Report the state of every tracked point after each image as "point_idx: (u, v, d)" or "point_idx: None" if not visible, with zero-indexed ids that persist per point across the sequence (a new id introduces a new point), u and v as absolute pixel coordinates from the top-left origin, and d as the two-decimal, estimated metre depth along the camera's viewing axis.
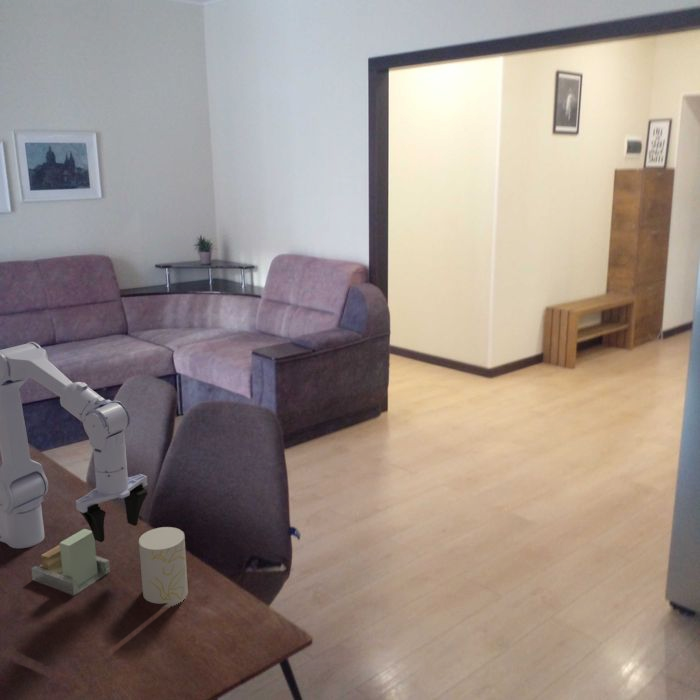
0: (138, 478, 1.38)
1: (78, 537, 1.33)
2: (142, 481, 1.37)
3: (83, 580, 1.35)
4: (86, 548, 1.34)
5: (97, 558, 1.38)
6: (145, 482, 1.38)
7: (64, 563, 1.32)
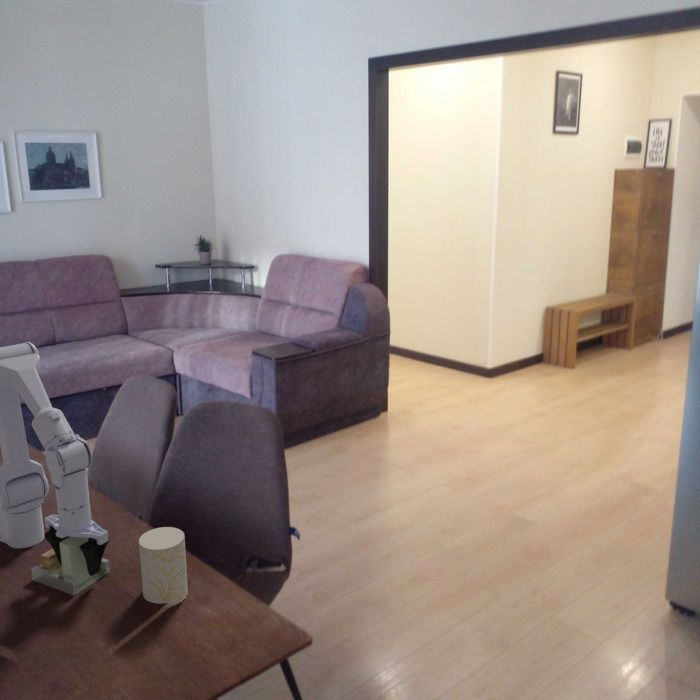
0: (97, 533, 1.30)
1: (78, 537, 1.33)
2: (94, 537, 1.29)
3: (83, 580, 1.35)
4: None
5: None
6: (98, 541, 1.29)
7: (64, 563, 1.32)
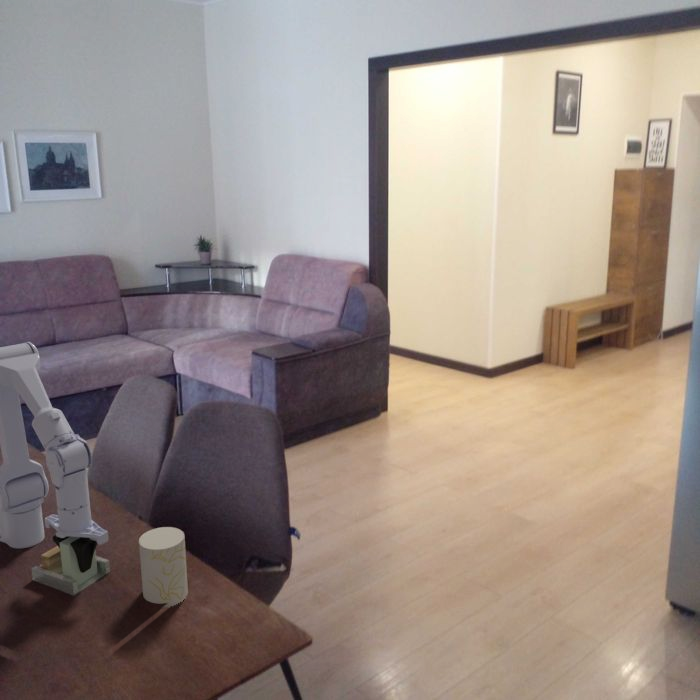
0: (97, 533, 1.30)
1: (78, 537, 1.33)
2: (94, 537, 1.29)
3: (83, 580, 1.35)
4: None
5: (97, 558, 1.38)
6: (98, 541, 1.29)
7: (64, 563, 1.32)
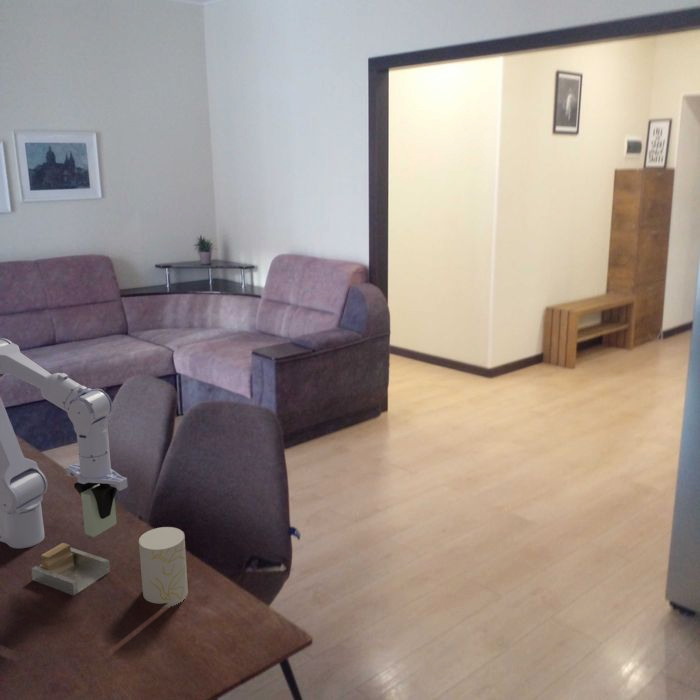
0: (117, 479, 1.36)
1: None
2: (114, 483, 1.35)
3: (103, 529, 1.41)
4: None
5: (97, 558, 1.38)
6: (118, 486, 1.35)
7: (85, 512, 1.38)
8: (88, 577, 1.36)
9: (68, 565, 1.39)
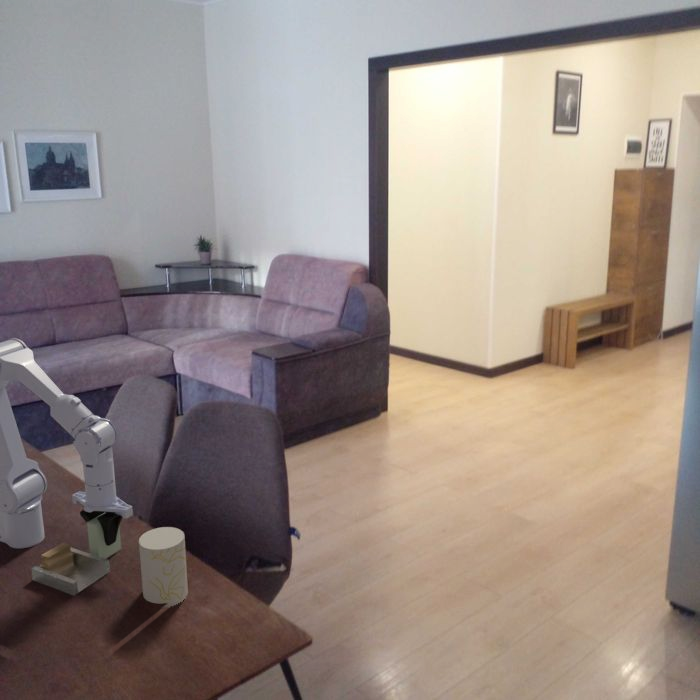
0: (122, 507, 1.39)
1: None
2: (120, 512, 1.38)
3: None
4: None
5: (97, 558, 1.38)
6: (123, 515, 1.38)
7: (91, 541, 1.41)
8: (88, 577, 1.36)
9: (68, 565, 1.39)
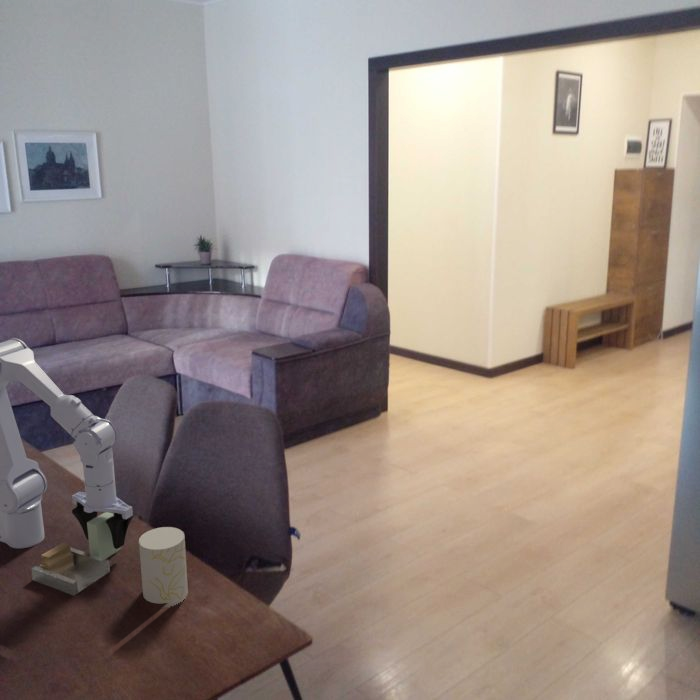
0: (122, 508, 1.39)
1: (104, 517, 1.42)
2: (120, 512, 1.38)
3: None
4: None
5: (97, 558, 1.38)
6: (123, 515, 1.38)
7: (91, 541, 1.41)
8: (88, 577, 1.36)
9: (68, 565, 1.39)
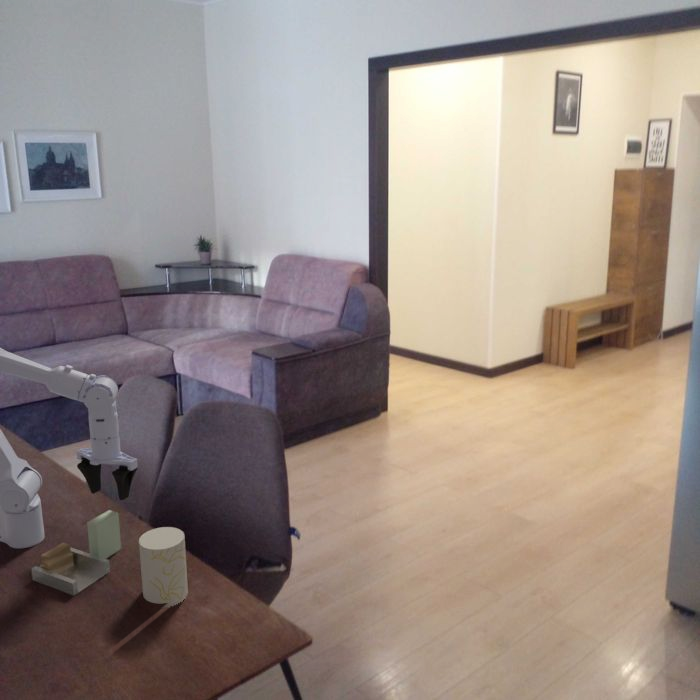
0: (128, 460, 1.45)
1: (104, 517, 1.42)
2: (126, 464, 1.44)
3: None
4: (111, 528, 1.43)
5: (97, 558, 1.38)
6: (129, 467, 1.44)
7: (91, 541, 1.41)
8: (88, 577, 1.36)
9: (68, 565, 1.39)
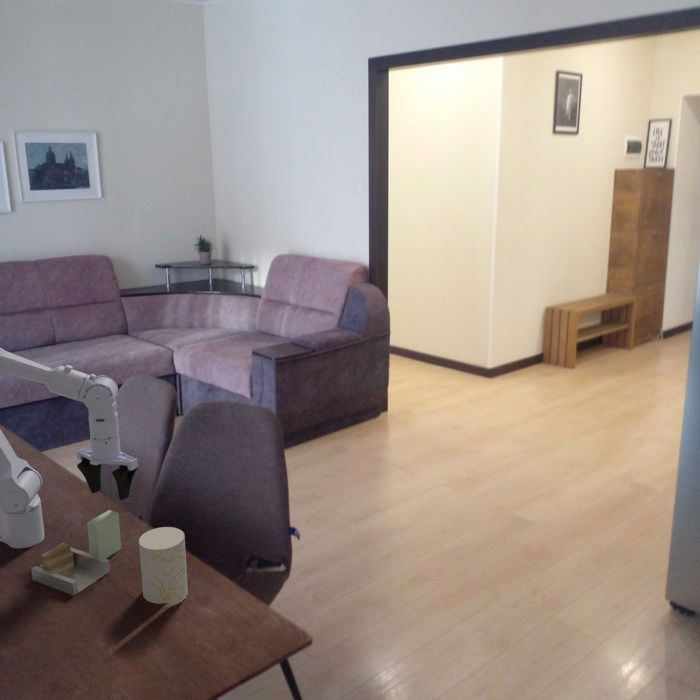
0: (128, 460, 1.45)
1: (104, 517, 1.42)
2: (126, 464, 1.44)
3: None
4: (111, 528, 1.43)
5: (97, 558, 1.38)
6: (129, 466, 1.44)
7: (91, 541, 1.41)
8: (88, 577, 1.36)
9: (68, 565, 1.39)
